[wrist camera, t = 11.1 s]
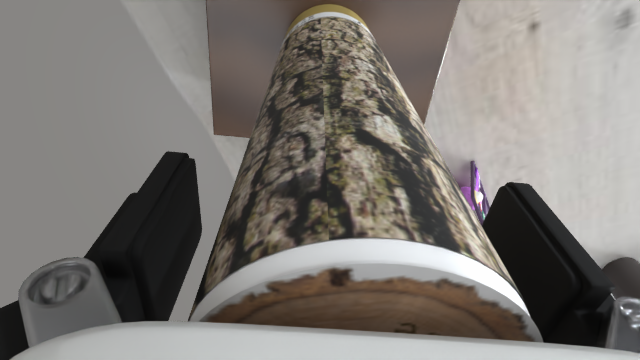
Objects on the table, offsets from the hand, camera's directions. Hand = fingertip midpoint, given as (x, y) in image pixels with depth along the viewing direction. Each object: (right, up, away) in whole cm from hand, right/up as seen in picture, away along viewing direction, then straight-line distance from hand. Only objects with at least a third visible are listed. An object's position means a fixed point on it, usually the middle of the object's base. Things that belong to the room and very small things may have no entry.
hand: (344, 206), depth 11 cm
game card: (+19, -1, +38) cm, 42 cm away
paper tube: (0, +11, +17) cm, 20 cm away
